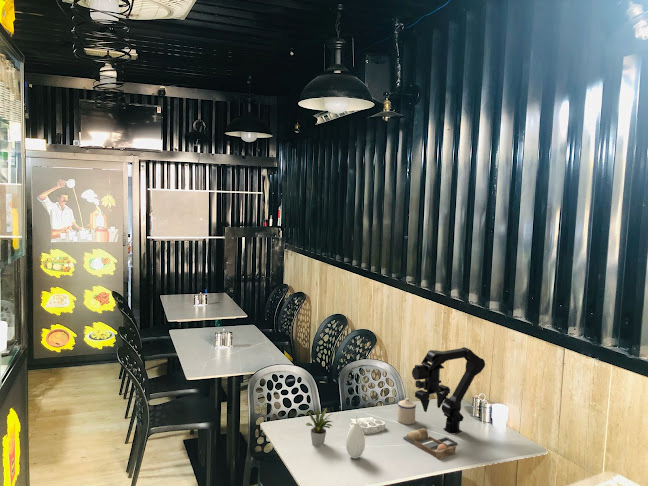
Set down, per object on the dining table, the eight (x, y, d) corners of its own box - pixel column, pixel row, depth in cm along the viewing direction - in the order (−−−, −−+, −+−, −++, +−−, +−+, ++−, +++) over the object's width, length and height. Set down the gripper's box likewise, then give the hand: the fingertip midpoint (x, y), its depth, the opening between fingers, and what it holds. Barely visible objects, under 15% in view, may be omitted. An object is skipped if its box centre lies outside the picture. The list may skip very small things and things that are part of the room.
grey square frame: (446, 438, 241) (446, 437, 241) (457, 444, 235) (457, 442, 235) (436, 441, 237) (436, 440, 237) (447, 447, 232) (447, 445, 232)
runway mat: (418, 434, 244) (418, 432, 244) (440, 446, 233) (441, 443, 232) (403, 439, 238) (403, 436, 238) (425, 451, 227) (425, 448, 227)
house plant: (305, 454, 219) (307, 416, 218) (295, 440, 232) (297, 405, 231) (336, 449, 225) (338, 413, 224) (324, 436, 238) (326, 402, 237)
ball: (442, 451, 228) (449, 453, 225) (436, 453, 226) (443, 455, 223) (441, 442, 229) (448, 443, 226) (435, 444, 226) (442, 445, 223)
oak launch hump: (420, 437, 243) (420, 426, 242) (427, 441, 238) (428, 430, 238) (406, 441, 237) (406, 430, 237) (413, 445, 233) (414, 434, 233)
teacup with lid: (418, 423, 257) (420, 400, 256) (403, 426, 253) (404, 402, 253) (405, 414, 268) (406, 392, 267) (390, 416, 264) (391, 394, 264)
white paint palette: (376, 421, 259) (389, 433, 245) (343, 424, 253) (354, 437, 239) (376, 414, 258) (389, 426, 245) (343, 417, 253) (354, 430, 239)
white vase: (352, 451, 224) (354, 411, 223) (367, 457, 219) (369, 416, 218) (341, 457, 218) (343, 416, 217) (356, 464, 213) (358, 421, 212)
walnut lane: (430, 440, 239) (430, 433, 238) (455, 453, 226) (455, 446, 226) (413, 445, 232) (413, 438, 232) (438, 459, 220) (438, 452, 220)
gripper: (433, 369, 256) (432, 400, 257) (407, 376, 245) (405, 408, 246) (451, 376, 247) (450, 407, 248) (424, 383, 236) (423, 416, 237)
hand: (431, 409), depth 245 cm, fingers open, 9 cm apart
